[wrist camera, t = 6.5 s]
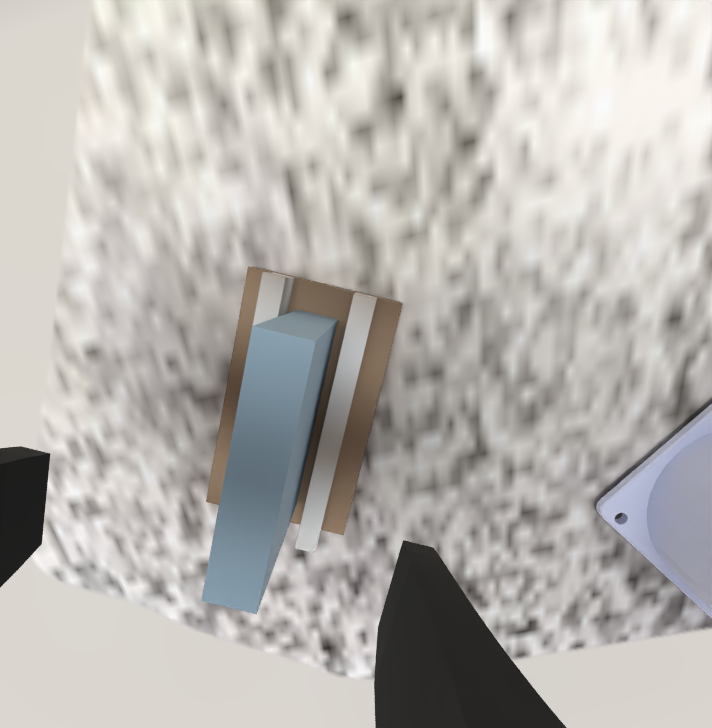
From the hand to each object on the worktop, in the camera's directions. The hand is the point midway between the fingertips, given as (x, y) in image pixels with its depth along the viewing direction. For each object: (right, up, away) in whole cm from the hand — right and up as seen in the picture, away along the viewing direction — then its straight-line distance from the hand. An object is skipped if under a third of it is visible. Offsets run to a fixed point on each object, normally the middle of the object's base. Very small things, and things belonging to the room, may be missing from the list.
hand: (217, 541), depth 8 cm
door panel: (0, +2, +9) cm, 9 cm away
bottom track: (+1, +2, +10) cm, 10 cm away
